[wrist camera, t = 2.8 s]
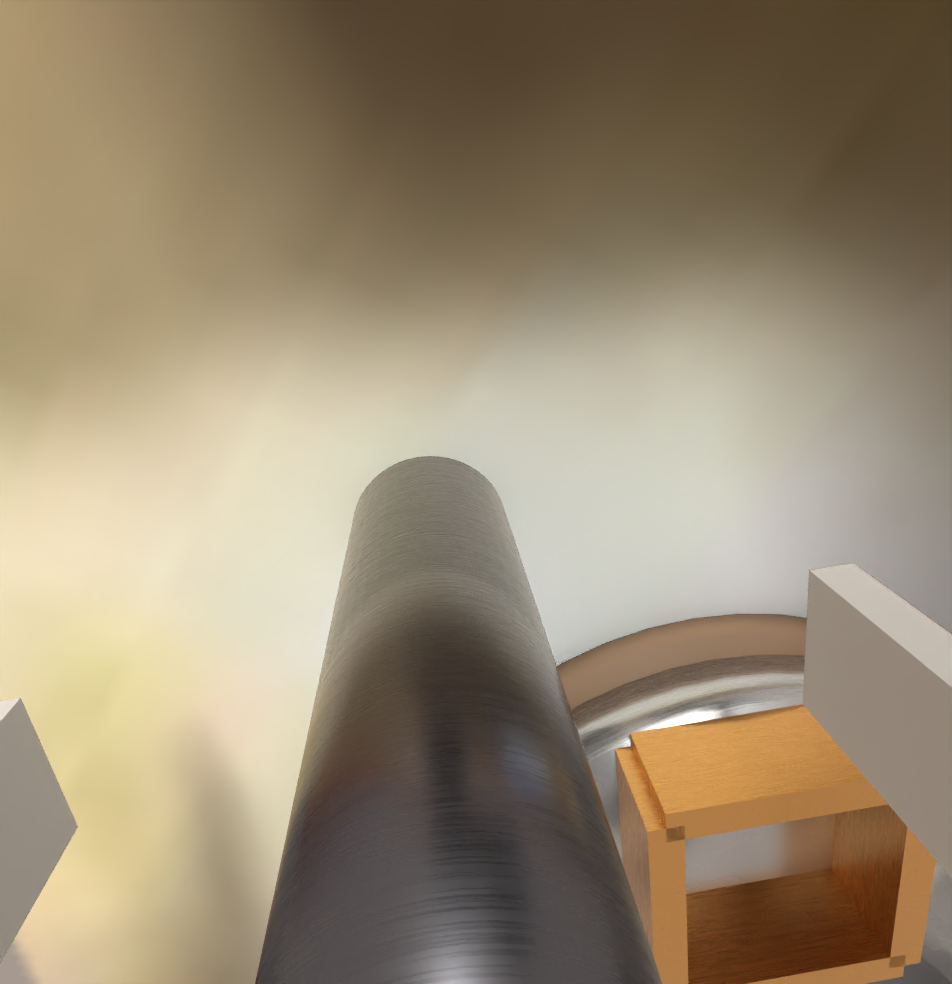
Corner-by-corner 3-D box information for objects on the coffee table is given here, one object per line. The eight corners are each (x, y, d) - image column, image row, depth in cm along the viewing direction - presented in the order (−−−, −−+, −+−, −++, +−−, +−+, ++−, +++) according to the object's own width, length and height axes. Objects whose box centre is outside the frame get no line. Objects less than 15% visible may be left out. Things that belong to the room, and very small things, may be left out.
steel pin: (339, 469, 17) (-183, 2114, 2) (496, 445, 17) (1053, 1832, 2) (368, 606, 18) (179, 2170, 4) (513, 584, 19) (922, 1989, 4)
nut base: (346, 674, 19) (342, 697, 18) (1028, 564, 20) (1059, 580, 19) (448, 1103, 26) (449, 1134, 25) (946, 1011, 27) (965, 1038, 26)
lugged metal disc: (960, 1041, 26) (1067, 1199, 21) (461, 1134, 25) (471, 1316, 21) (1047, 604, 19) (1230, 710, 15) (364, 716, 18) (349, 861, 14)
